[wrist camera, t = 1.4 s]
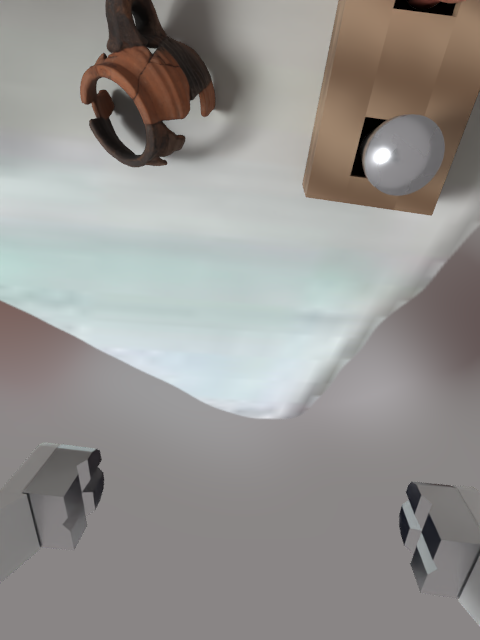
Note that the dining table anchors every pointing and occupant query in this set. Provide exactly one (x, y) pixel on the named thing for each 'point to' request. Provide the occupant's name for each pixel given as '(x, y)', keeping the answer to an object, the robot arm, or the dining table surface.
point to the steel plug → (402, 154)
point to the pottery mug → (145, 81)
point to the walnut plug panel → (391, 92)
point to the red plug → (428, 3)
